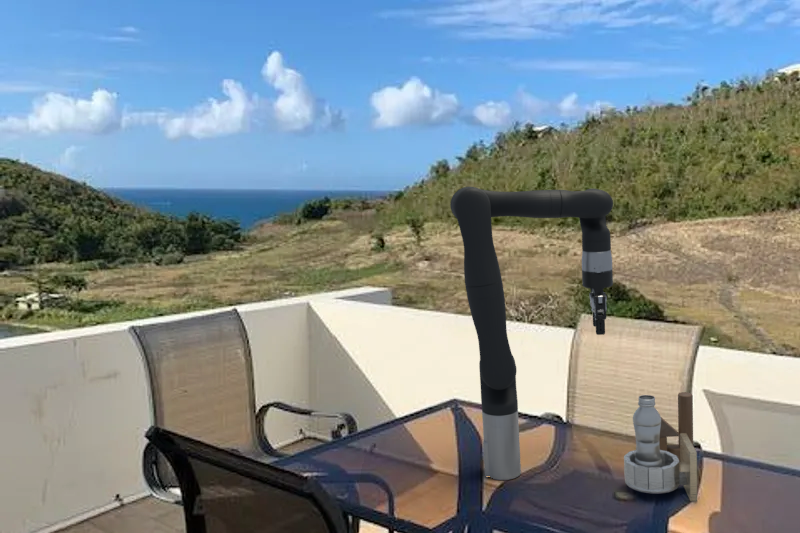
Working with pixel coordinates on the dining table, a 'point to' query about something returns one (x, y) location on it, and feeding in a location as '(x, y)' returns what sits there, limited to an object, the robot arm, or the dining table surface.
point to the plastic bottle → (647, 433)
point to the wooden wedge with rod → (683, 424)
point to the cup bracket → (665, 471)
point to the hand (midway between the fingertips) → (598, 330)
